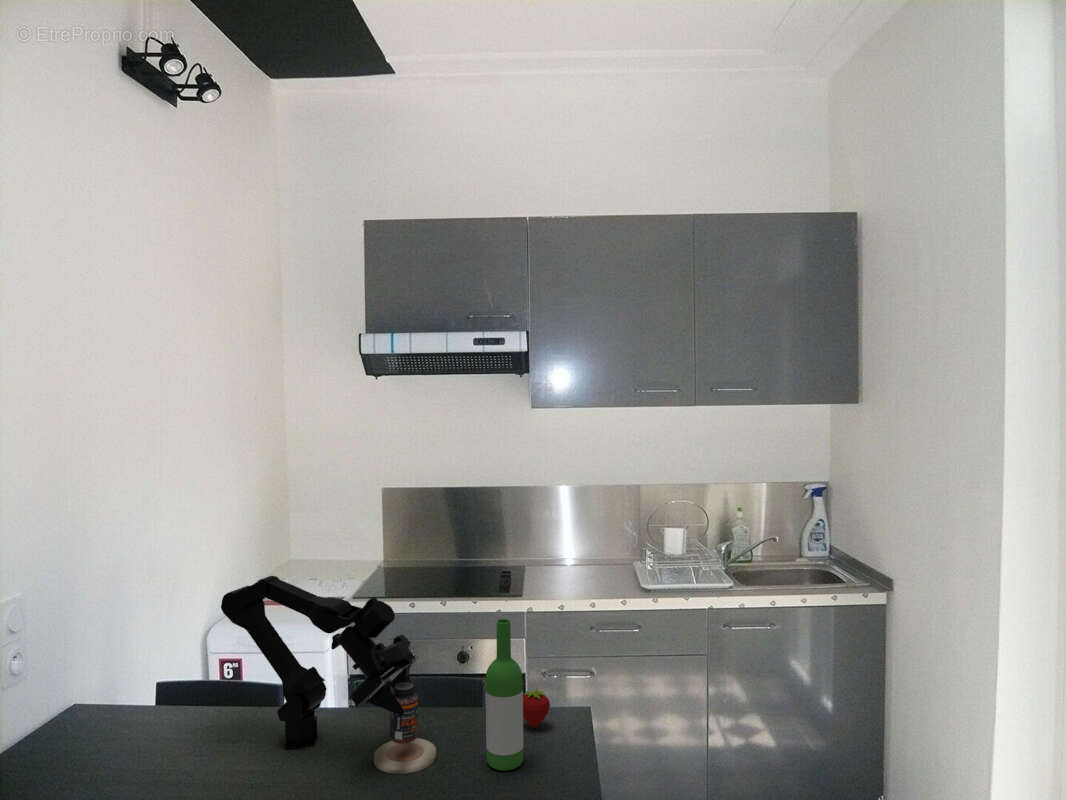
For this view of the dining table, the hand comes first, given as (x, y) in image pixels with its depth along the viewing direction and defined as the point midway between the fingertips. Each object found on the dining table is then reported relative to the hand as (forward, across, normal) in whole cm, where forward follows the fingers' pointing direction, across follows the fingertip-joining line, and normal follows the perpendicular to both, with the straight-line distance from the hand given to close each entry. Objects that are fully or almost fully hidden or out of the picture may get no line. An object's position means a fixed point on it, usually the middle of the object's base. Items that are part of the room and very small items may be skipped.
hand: (409, 708), depth 156 cm
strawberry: (+23, +21, -7) cm, 32 cm away
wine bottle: (+22, +4, -7) cm, 23 cm away
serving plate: (+7, 0, +8) cm, 11 cm away
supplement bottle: (+4, 0, +6) cm, 7 cm away
